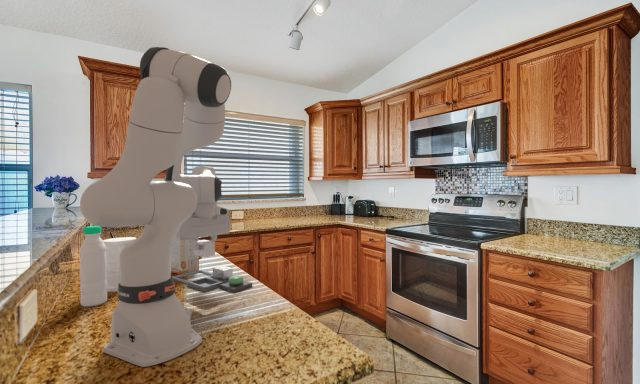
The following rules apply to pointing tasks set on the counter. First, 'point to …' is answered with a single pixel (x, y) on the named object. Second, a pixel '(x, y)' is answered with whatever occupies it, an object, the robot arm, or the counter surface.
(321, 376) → the counter surface
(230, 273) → the block
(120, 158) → the robot arm
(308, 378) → the counter surface
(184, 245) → the cracker box
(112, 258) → the decorative container
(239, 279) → the button
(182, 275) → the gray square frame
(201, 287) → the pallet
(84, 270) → the water bottle
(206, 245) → the billet
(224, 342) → the counter surface
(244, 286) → the console
